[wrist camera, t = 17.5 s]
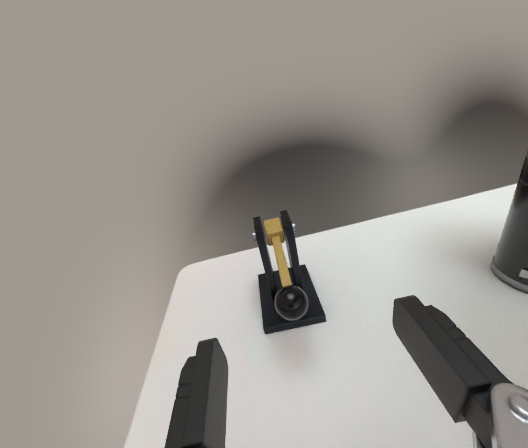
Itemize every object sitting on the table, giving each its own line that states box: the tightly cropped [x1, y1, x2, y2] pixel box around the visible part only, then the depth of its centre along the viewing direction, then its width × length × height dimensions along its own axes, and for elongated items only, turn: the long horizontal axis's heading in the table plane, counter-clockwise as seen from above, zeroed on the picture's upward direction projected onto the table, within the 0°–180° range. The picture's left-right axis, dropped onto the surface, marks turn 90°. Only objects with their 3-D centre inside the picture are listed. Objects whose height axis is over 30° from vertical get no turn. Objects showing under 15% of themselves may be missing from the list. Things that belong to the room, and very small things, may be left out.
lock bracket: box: [252, 210, 326, 334], centre depth 36 cm, size 12×9×15 cm
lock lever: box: [264, 218, 308, 320], centre depth 29 cm, size 14×4×4 cm, turn 6°
